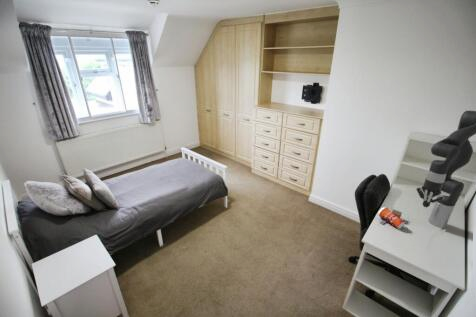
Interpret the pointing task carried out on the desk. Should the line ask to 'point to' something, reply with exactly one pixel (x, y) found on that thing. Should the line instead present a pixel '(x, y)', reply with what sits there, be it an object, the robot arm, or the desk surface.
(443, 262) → the desk surface
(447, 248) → the desk surface
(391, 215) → the paper cup
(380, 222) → the slate strip
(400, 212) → the walnut block
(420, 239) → the desk surface
